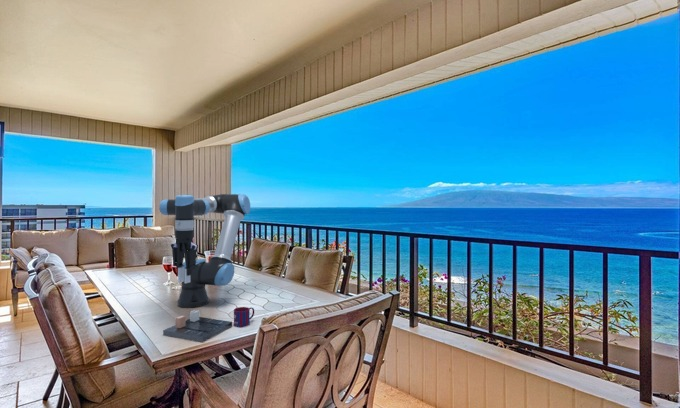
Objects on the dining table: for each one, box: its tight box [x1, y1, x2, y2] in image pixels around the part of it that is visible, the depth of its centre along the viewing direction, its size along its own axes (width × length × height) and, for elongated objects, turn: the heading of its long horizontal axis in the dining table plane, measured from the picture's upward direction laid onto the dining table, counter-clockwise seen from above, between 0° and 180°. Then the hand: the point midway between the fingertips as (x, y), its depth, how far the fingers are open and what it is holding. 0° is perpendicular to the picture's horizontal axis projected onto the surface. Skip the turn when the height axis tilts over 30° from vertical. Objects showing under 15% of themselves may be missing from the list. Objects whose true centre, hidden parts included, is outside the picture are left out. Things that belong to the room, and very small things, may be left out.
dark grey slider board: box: [162, 316, 233, 343], centre depth 142 cm, size 20×18×2 cm
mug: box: [233, 306, 255, 328], centre depth 151 cm, size 7×10×7 cm
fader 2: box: [189, 309, 200, 322], centre depth 148 cm, size 2×3×4 cm
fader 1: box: [174, 315, 187, 328], centre depth 140 cm, size 2×3×4 cm
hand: (184, 282), depth 150 cm, fingers open, 3 cm apart
